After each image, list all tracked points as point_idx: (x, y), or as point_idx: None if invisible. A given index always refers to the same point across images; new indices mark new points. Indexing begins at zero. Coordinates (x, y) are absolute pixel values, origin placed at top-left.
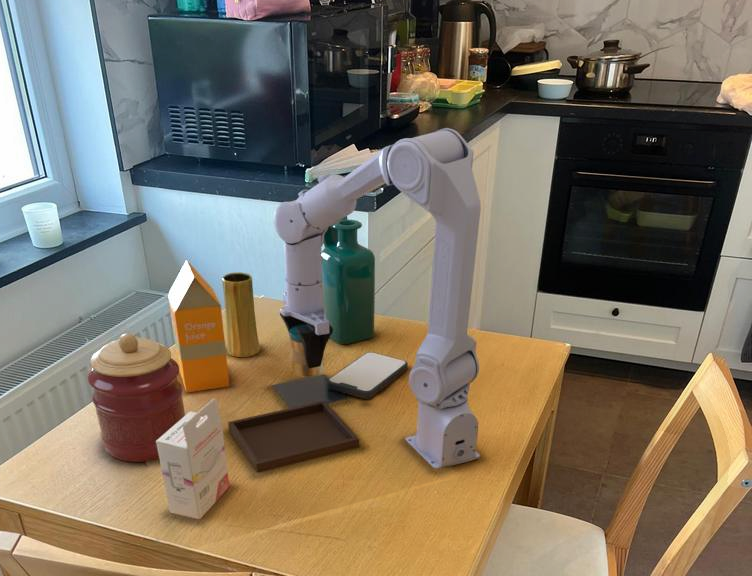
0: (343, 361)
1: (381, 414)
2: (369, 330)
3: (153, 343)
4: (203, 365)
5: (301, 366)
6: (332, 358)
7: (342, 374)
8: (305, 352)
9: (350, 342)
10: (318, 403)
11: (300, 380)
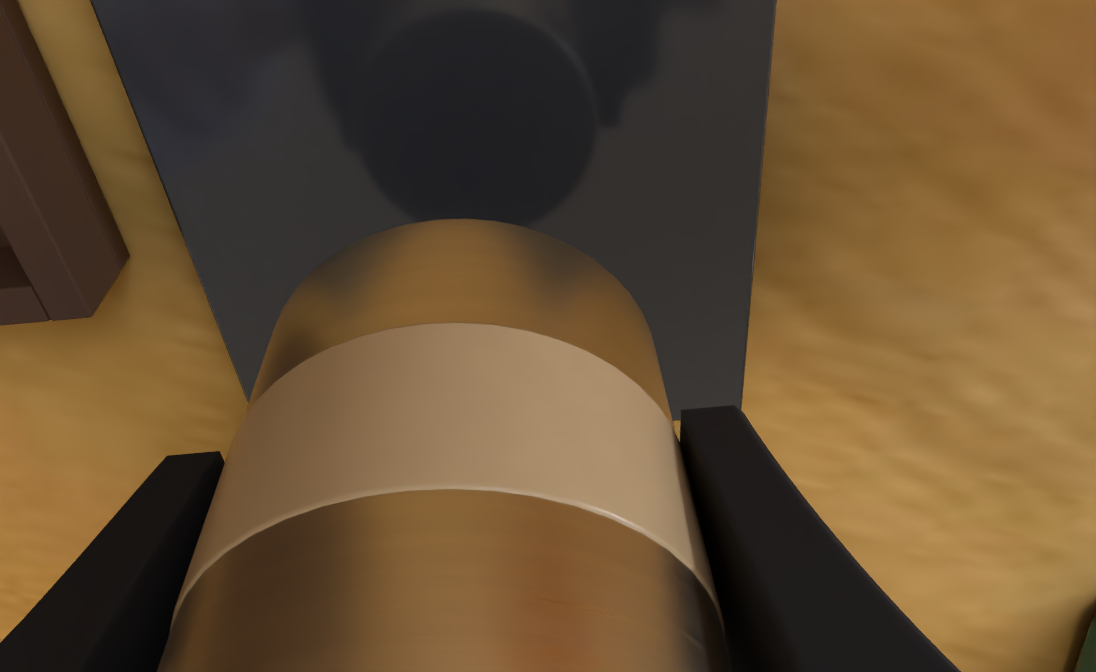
0: (892, 546)
1: (44, 554)
2: None
3: None
4: None
5: (267, 381)
6: (983, 504)
7: None
8: (22, 667)
9: (1088, 637)
10: (26, 255)
11: (724, 220)
